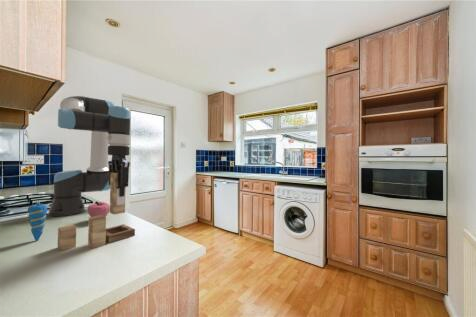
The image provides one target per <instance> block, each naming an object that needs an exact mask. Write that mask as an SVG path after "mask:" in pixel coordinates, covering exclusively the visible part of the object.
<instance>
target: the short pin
mask: <svg viewBox="0 0 476 317" xmlns="http://www.w3.org/2000/svg"><path fill="white" fill-rule="evenodd" d="M76 247H77V226H76V225H74V224H69V225H63V226H58V227H57V249H58V250H60V251H61V252H62V251H66V250H70V249H73V248H76Z"/></svg>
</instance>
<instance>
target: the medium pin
mask: <svg viewBox="0 0 476 317" xmlns="http://www.w3.org/2000/svg"><path fill="white" fill-rule="evenodd" d="M106 229H107V216H106V217H105V216H102V215H100V216H94V217H91V216H89V217H88V230H87V231H88V232H87V237H88V239H87V245H88V247H90V248H91V249H93V250H94V249H95V248H96V249H97V248H99V247H102V246H105V245H106V241H105V240H106Z"/></svg>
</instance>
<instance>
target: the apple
mask: <svg viewBox="0 0 476 317" xmlns="http://www.w3.org/2000/svg"><path fill="white" fill-rule="evenodd" d="M87 214H88V215H89V217H94V216H100V215H102V216H105V217H106V218H107V216H108V214H110V203H107V202H106V201H105V202H103V201H99V202H98V201H95V202H94V203H91V204H89V205H88V207H87Z"/></svg>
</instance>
